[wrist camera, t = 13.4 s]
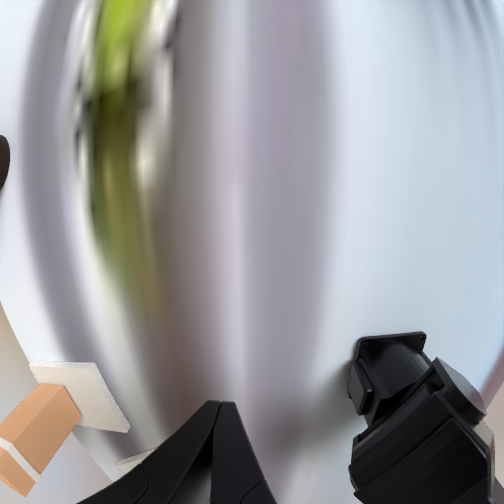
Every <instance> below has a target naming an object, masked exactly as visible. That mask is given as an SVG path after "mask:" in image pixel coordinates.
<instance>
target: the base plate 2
mask: <svg viewBox="0 0 504 504" xmlns="http://www.w3.org/2000/svg"><path fill="white" fill-rule="evenodd" d="M155 449H156V448H155ZM155 449H152V450H149V451H146V452H144V453H141V454H138V455H135V456H132V457H129V458H126V459H122V460H119V461H118V462H117V464H116V466H115V467H117V468H118V469H119V470H121V471H122V472H124V473H125V474H126V473H128V472H129V471H130V470H132V469H133V468H134V467H135V466H136V465H138V464H139V463H141V461H142V460H144V459H145V458H146V457H147V456H148V455H149V454H151V453H152V452H153V451H154V450H155Z"/></svg>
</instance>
